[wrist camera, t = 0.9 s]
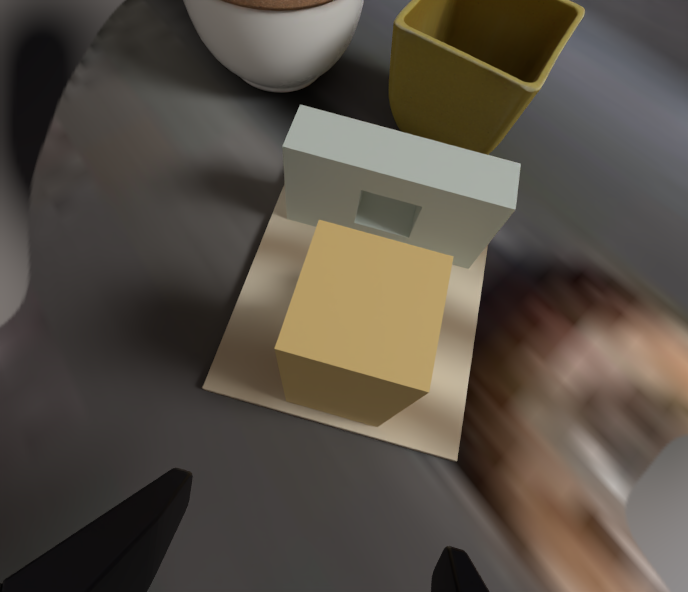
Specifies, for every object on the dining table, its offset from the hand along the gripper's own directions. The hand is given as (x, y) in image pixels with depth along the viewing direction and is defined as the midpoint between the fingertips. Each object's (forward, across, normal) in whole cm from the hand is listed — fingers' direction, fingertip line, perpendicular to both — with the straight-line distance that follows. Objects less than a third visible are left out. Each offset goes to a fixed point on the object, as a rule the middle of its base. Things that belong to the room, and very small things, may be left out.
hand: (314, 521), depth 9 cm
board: (+18, 0, +1) cm, 18 cm away
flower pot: (+28, -3, -9) cm, 30 cm away
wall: (+21, 0, -3) cm, 21 cm away
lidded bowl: (+30, +11, -11) cm, 34 cm away
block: (+14, 0, +3) cm, 15 cm away
